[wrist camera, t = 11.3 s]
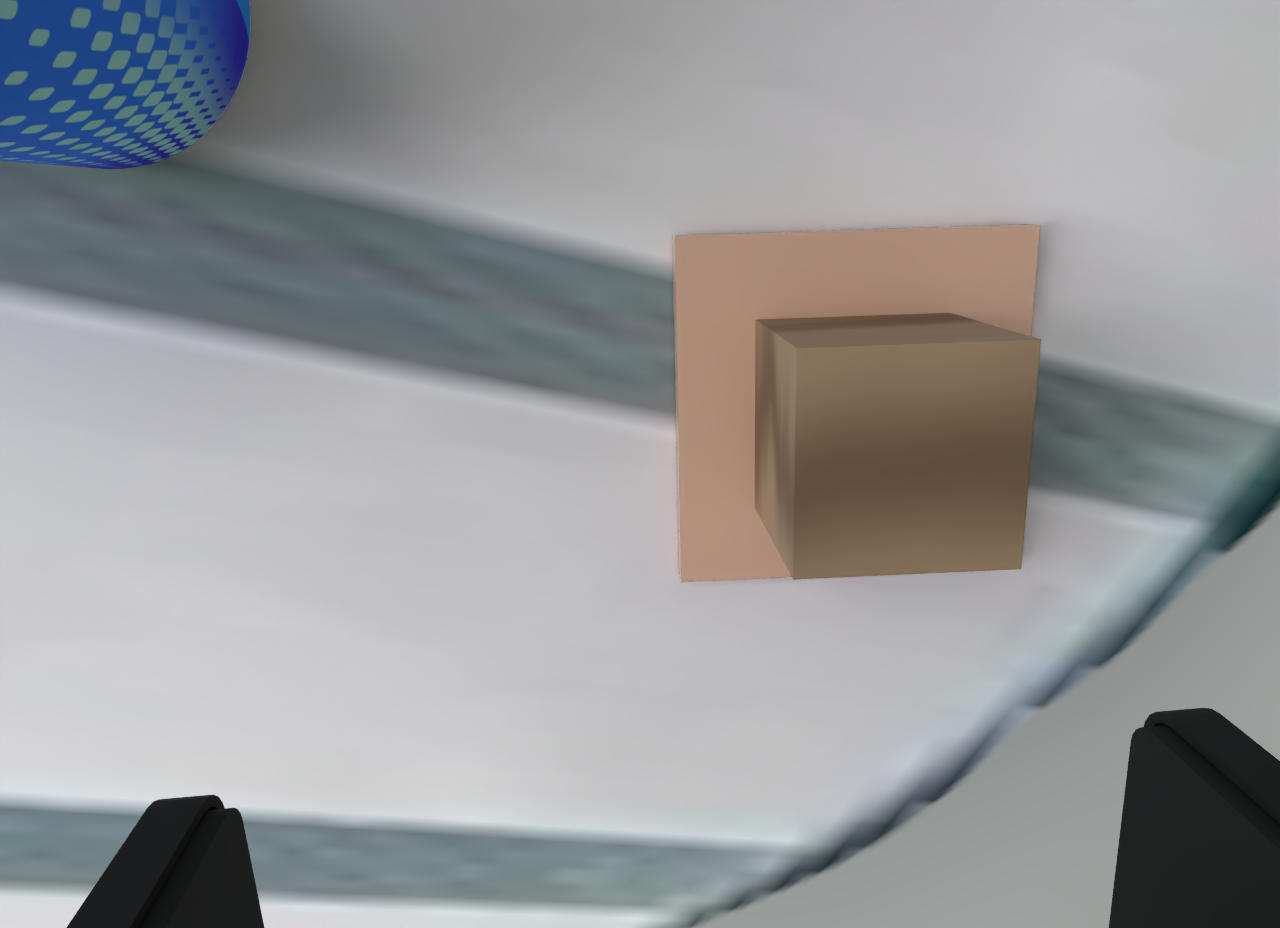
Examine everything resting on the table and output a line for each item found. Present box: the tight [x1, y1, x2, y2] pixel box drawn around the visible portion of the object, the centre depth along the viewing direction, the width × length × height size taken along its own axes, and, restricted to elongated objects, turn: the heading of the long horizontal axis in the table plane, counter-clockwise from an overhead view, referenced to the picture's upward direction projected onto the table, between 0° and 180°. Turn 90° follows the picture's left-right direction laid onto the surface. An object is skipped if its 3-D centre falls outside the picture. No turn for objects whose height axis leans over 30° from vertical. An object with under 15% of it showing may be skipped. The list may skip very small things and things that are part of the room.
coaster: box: [673, 224, 1040, 582], centre depth 29 cm, size 11×11×1 cm
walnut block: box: [755, 313, 1041, 579], centre depth 26 cm, size 6×6×6 cm
